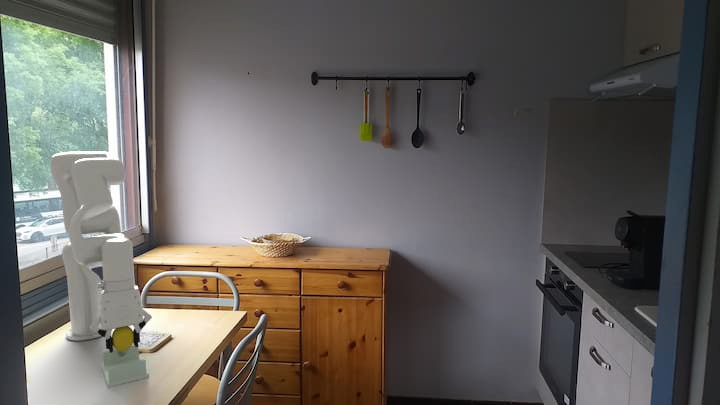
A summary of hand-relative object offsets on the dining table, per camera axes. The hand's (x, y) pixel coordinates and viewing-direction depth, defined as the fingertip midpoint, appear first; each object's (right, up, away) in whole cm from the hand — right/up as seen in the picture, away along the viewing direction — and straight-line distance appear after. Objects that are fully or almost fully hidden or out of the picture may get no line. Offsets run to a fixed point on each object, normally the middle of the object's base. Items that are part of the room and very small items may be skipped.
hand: (123, 347), depth 131 cm
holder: (0, -7, +1) cm, 7 cm away
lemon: (0, -2, 0) cm, 2 cm away
